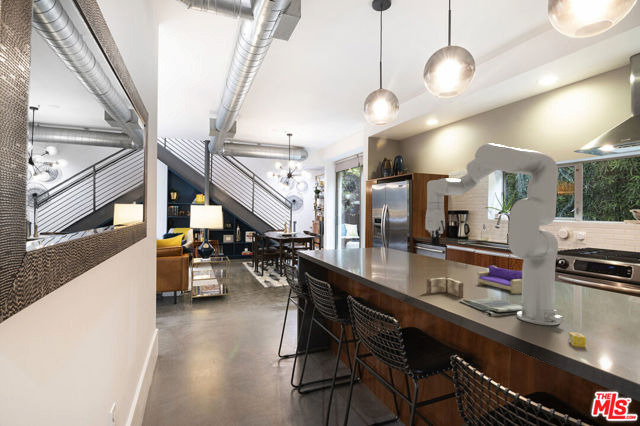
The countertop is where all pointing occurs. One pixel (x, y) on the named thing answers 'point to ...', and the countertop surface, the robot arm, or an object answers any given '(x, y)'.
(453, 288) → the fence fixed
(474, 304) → the dish towel
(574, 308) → the countertop surface
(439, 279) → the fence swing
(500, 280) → the toy sofa
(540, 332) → the countertop surface
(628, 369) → the countertop surface
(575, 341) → the alphabet block
